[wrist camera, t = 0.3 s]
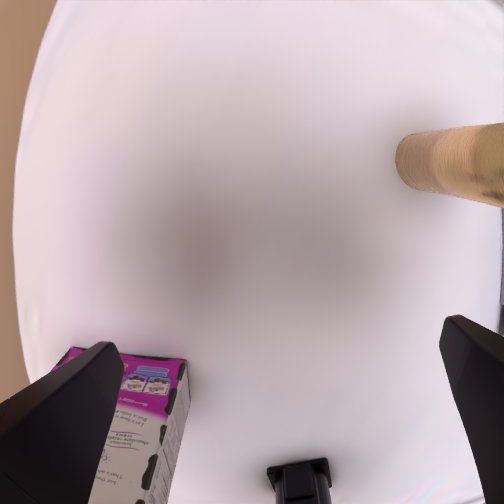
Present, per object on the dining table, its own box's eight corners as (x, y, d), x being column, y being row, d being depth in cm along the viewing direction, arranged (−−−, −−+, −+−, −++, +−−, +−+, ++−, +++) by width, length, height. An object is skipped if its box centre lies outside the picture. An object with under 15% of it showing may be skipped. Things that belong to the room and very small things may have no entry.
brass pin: (450, 189, 20) (601, 228, 6) (397, 200, 20) (551, 255, 7) (439, 125, 18) (593, 111, 5) (384, 132, 19) (540, 105, 5)
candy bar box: (84, 388, 25) (5, 513, 9) (70, 345, 24) (-34, 471, 8) (194, 403, 25) (155, 572, 9) (188, 357, 24) (129, 547, 8)
